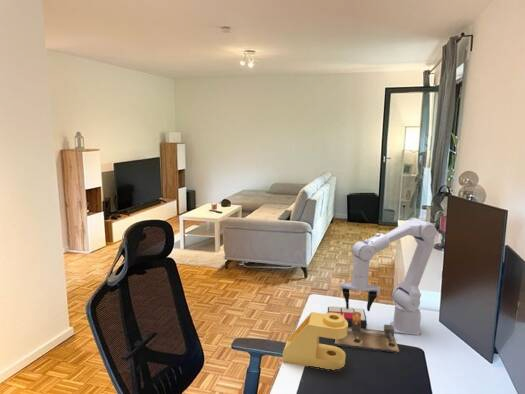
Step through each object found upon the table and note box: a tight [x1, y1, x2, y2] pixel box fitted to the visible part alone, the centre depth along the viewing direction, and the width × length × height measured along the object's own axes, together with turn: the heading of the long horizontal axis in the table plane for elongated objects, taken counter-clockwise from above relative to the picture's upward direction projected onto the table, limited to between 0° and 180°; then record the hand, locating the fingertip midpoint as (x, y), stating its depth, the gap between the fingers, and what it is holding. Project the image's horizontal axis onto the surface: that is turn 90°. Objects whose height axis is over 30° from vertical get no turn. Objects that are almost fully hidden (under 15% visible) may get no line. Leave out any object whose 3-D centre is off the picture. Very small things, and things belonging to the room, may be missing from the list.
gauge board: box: [334, 323, 400, 353], centre depth 139 cm, size 22×13×5 cm, turn 81°
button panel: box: [327, 305, 368, 329], centre depth 154 cm, size 11×4×15 cm
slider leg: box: [351, 312, 361, 341], centre depth 139 cm, size 3×9×7 cm, turn 171°
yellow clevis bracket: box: [282, 311, 348, 370], centre depth 125 cm, size 20×9×16 cm, turn 75°
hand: (357, 308), depth 141 cm, fingers open, 7 cm apart
